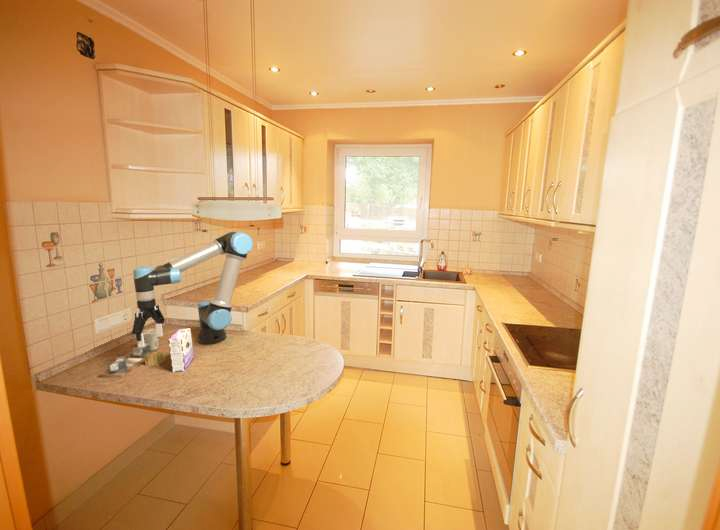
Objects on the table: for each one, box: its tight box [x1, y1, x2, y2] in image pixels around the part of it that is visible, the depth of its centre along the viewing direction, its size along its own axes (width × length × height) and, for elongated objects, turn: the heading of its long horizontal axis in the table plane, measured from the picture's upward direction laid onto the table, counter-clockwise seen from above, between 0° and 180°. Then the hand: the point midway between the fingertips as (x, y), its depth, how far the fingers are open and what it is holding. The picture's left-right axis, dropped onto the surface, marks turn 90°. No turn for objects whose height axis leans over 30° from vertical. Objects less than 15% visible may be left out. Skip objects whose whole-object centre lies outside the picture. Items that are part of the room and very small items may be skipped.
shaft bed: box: [97, 343, 159, 378], centre depth 167 cm, size 26×11×6 cm, turn 177°
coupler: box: [144, 351, 165, 367], centre depth 167 cm, size 6×5×5 cm
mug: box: [136, 328, 160, 351], centre depth 185 cm, size 8×13×10 cm, turn 89°
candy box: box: [168, 327, 195, 373], centre depth 163 cm, size 14×6×16 cm, turn 9°
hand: (151, 341), depth 165 cm, fingers open, 13 cm apart
